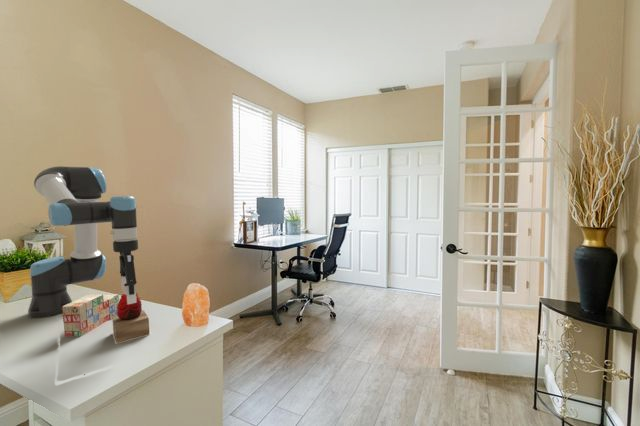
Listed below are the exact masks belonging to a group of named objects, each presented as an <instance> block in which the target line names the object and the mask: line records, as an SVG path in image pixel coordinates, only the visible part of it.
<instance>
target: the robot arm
mask: <svg viewBox="0 0 640 426" xmlns="http://www.w3.org/2000/svg"><path fill="white" fill-rule="evenodd" d="M106 181H107V180H106V178H105V175H104V173H103V171H102V170H101V169H99V168H96V167H89V166H63V165H62V166H52V167H47V168H46V169H44V170H42V171H41V172H39V173H38V174H37V175H36V176H35V179H34V181H33V186H34V188H35V189H36V192H37V193H38V194H40V195H41V196H44V198H45V199H46V201H47V202H48V204H49V206H48V208H47V209H48V211H47V213H48V214H47V215H48V219H49V223H50V224H51V225H52V226H54V227H59V226H64V227H66V226H74V228H73V229H74V231H73V234H74V236H73V237H74V251H72V252H71V253H70V258H65V257H64V256H56V257H54V256H53V257H48V258H45V259H40V260H38V261H36V262H33V263H32V264H31V265H30V268H29V270H30V271H29V277H30V282H31V284H30V285H31V296H32V297H31V300H30V303H29V306H28V309H27V314H28V316H27V317H28V318H36V319H37V318H45V317H50V316H51V317H52V316H56V315H59V314H63V308H62V306H64V305H67V304H69V303H71V302H73V300H72V298H71V296H70V294H69V292H68V290H67V289H68V288H67V286H68V285H69V286H70V285H73V284H78V283H84V282H89V281H90V282H91V281H94V280H98V279H101V278H102V277H103V276H104V275H105V274H106V271H107V270H106V268H107V262H106V261H107V260H106V259H107V258H106V256H105V255H104V254H102V252H101V251H100V250H99V249H98V224H100V223H103V224H104V223H111V228H112V230H111V231H110V233H109V234H110V235H112V240H113V242H112V247H113V249H112V250H113V252H115V253H119V265H120V266H119V274H120V283H121V285H120V286H121V295H122V294H127V305H128V304H133V303H137V300H136V293H137V288H136V286H137V285H136V284H137V277H136V269H135V263H134V261H135V258H134V255H133V254H132V252H133V251H137V250H138V249H139V240H138V239H137V238H138V226H137V225H138V224H137V205H136V198H135V197H134V196H131V195H128V196H127V195H126V196H124V195H123V196H122V195H121V196H120V195H119V196H118V195H117V196H116V195H115V196H112V197H110V199H109V201H99V200H101V199H102V195H103V194H106V192H107V182H106Z"/></svg>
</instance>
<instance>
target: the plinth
mask: <svg viewBox="0 0 640 426" xmlns="http://www.w3.org/2000/svg"><path fill="white" fill-rule="evenodd" d="M112 319H113V320H112V330H113V331H112V333H114V336H115V340H116V343H117V344H120V343H119V342H121V343H124V342H123V341H125V342H127V341H126V340H129V341H131V340H130V339H132V340H135V339H134V338H136V339H139V338H138V337H140V338H142V337H141V336H143V337H146V336H145V335H147V336H150V335H149V334H150V333H151V332H150V319H149V316H148V314H147V313H146V312H145V310H144V309H143V310H142V311H141V314H140V315H139V316H138V317H136V318H133V319H129V320H122V319H120V318H119V317H118V316H115V317H112ZM149 332H150V333H149Z"/></svg>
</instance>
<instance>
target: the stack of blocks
mask: <svg viewBox="0 0 640 426" xmlns="http://www.w3.org/2000/svg"><path fill="white" fill-rule="evenodd" d="M119 298H120V297H119V294H118V293H116V294H102V293H101V294H86V295H84V296H82V297H80V298H78V299H76V300H72V302H71V303H69V304H67V305H64V306H62V308H63V313H62V322H63V329H64V331H63V332H64V334H63V335H64V337H83V336H85V335H86V334H88V333H89V332H92V330H94V329H96V328H98V327H100V326H101V325H103V324H105V323H106V322H108V321H113V319H112V317H115V316H118V315H117V307H118V303H119V301H120V299H119Z"/></svg>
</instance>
